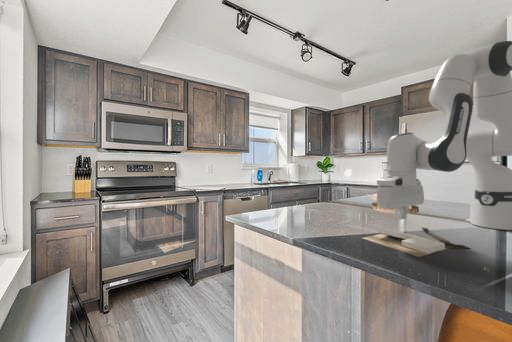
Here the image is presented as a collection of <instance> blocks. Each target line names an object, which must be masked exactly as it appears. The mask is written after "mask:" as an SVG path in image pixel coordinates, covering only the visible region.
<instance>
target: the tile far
mask: <svg viewBox="0 0 512 342" xmlns="http://www.w3.org/2000/svg"><path fill="white" fill-rule="evenodd" d="M375 232H378V233H379V234H387V235H390V236H394V237H398V238H402V239H410V238H413V236H412V234H410V235H408V234H409V233H406V234H404V233H405V232H402V233H401V231H398V232H397V230H393V229H388V228H384V227H379V226H376V227H375Z"/></svg>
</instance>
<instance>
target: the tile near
mask: <svg viewBox="0 0 512 342" xmlns="http://www.w3.org/2000/svg"><path fill="white" fill-rule="evenodd" d="M425 238H426V237H425ZM425 238H424V237H422V238H421V236H418V237H415V238H410V239H406V240H402V246H405V247H408V248H411V249H415V250H418V251H421V252H424V253H428V255H430V254H429V253H431V254H433V253H432V252H435V253H437V252H436V251H438V252H440V251H439V250H442V251H444V250H443V249H445V244H444V243H443V242H441V241H437V240H433V239H429V238H426V239H425ZM428 239H429V240H428ZM432 240H433V241H432ZM436 241H437V242H436ZM440 242H441V243H440ZM445 250H446V249H445Z"/></svg>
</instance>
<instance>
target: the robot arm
mask: <svg viewBox="0 0 512 342" xmlns="http://www.w3.org/2000/svg"><path fill="white" fill-rule="evenodd" d="M511 72H512V40H504V41H498V42H496V43H491V44H487V45H482V46H479V47H475V48H473V49H469V50H467V51H465V52H461V53H457V54H455V55H451V56H449V57H448V58H447V59H446V60H445V61H444V62H443V63H442V65H441V67H440V68H439V70H438V72H437V74H436V76H435V78H434V81H433V83H432V85H431V88H430V90H429V95H428V102H429V103H430V105H431V107H433V108H434V109H436V110H438V111H440V112H443V113H447V116H446V121H445V126H444V130H443V135H442V137H440V139H438V140H433V141H425V140H423V139H421V138H419V137H418V136H417V135H415V133H414V132H403V133H399V134H394V135H391V136H390V138H388V143H387V148H386V149H387V150H386V161H387V164H388V165H387V168H386V174H385V175H383V176H381V177H380V178H377V180H376V184H377V186H378V187H377V189H376V204H377V206H378V207H379V208H380V209H386V210H387V209H388V210H389V209H393V210H394V212H395V214H396V220H406V219H407V218H408V215H407V214H408V212H409V210H410V207H411V206H418V205H423V204H424V202H425V193H424V192H425V191H424V186H423V185H422V183H421V182H422V181H420V179H419V178H417V170H425V171H439V172H445V173H447V172H448V173H449V172H450V173H451V172H454V171H457V170H458V169H460V168H461V167H462V166H463V164H464V163H465V161H466V160H467V161H468V162H469V163H470V165H471V166H472V168H473V170H474V174H475V188H476V189H475V190H474V201H472V202H471V203H470V212H469V218H466V220H465V221H466V222H468V223H470V224H472V225H474V226H478V227H482V228H487V229H495V230H506V231H512V169H511V168H509V167H508V166H505V165H502V164H500V163H497V162H495V161H494V160H493V157H507V156H509V157H510V156H512V74H511ZM472 86H473V87H472ZM471 88H472V95H473V96H470V93H471V92H470V91H471ZM472 97H473V98H472ZM473 112H474V113H473ZM472 114H474V116H475V117H476V118H477V119H478V120H481V121H483V122H488V123H491V124H493V125H494V126H495V128H488V129H479V130H471V131H469V130H470V125H471V119H472V116H473V115H472Z"/></svg>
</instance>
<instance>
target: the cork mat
mask: <svg viewBox="0 0 512 342" xmlns="http://www.w3.org/2000/svg"><path fill="white" fill-rule="evenodd" d="M396 231H397V230H396ZM397 232H399V231H397ZM400 232H401V231H400ZM401 233H404V234H408V235H412V234H409V233H405V232H401ZM412 236H413V238H415V237H419V236H418V235H414V234H413V235H412ZM420 237H421V236H420ZM421 238H423V237H421ZM362 239H363V240H367V241H369V242H372V243H375V244H378V245H381V246H385V247H387V248H390V249H394V250H397V251H399V252H400V251H401V252H403V253H406V254H409V255H411V256H415V257H418V258H420V257H424V256H427V255H430V254H434V253H438V252H442V251H445V250H448V249H452V248H454V247H453V246H445V249H443V250H439V251H436V252H432V253H429V254H428V253H424V252H421V251H418V250H415V249H411V248H408V247H405V246H402V240H406V239H402V238H398V237H394V236H390V235H387V234H383V233H379V234H374V235H369V236H364V237H362ZM425 239H428V240H430V239H429V238H426V237H425ZM431 240H432V241H434V240H433V239H431ZM435 241H436V242H438V241H437V240H435ZM439 242H440V243H442V242H441V241H439Z"/></svg>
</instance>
